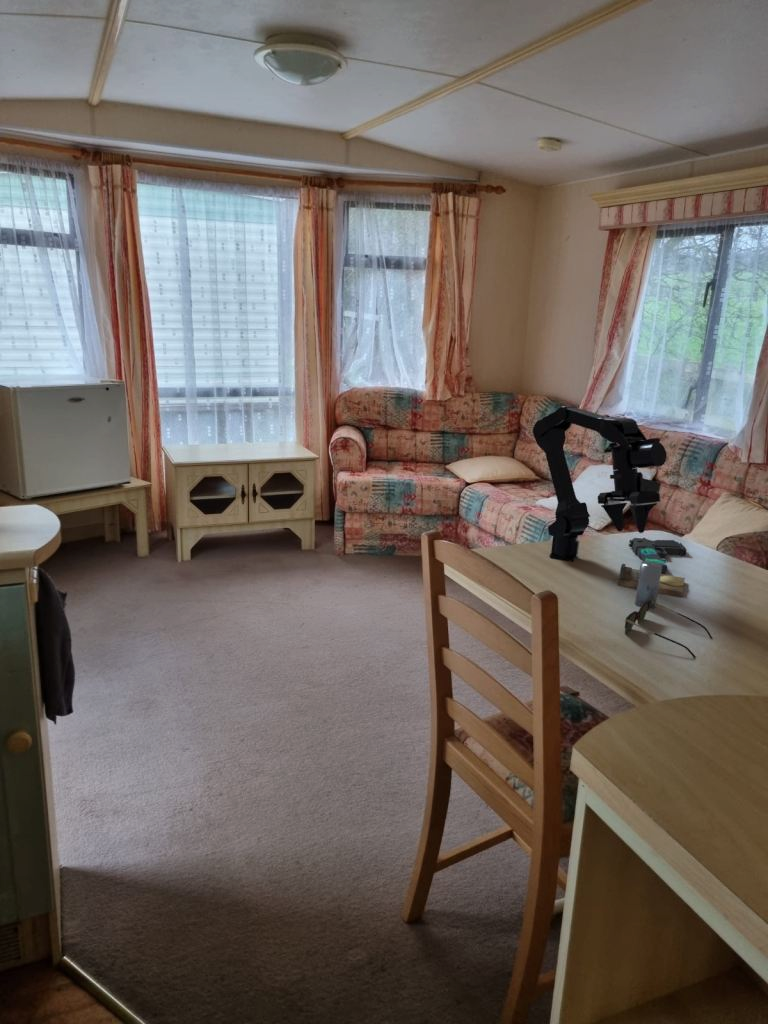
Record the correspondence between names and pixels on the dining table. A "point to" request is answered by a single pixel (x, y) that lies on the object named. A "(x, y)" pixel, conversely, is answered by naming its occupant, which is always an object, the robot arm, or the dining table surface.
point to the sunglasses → (641, 615)
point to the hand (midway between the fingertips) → (630, 531)
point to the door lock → (666, 584)
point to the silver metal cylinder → (648, 583)
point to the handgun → (656, 550)
